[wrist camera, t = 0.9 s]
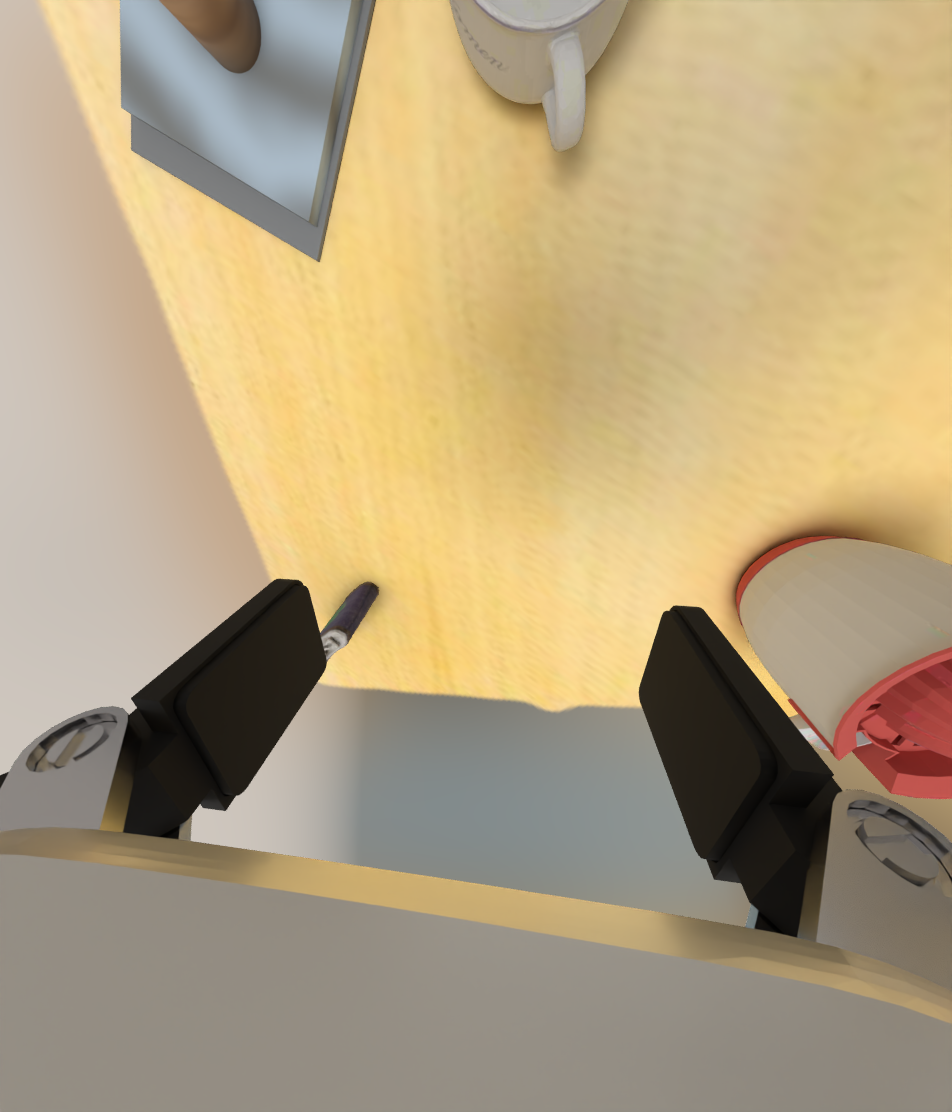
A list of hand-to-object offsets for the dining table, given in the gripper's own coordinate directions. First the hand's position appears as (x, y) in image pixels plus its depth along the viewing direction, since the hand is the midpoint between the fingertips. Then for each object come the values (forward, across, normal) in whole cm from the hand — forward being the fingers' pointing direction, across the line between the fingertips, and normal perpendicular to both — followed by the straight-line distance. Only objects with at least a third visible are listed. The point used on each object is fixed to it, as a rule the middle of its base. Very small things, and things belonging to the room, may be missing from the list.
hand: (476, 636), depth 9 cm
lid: (+27, +19, -26) cm, 42 cm away
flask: (+28, +19, +20) cm, 39 cm away
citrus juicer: (+28, -30, +14) cm, 43 cm away
